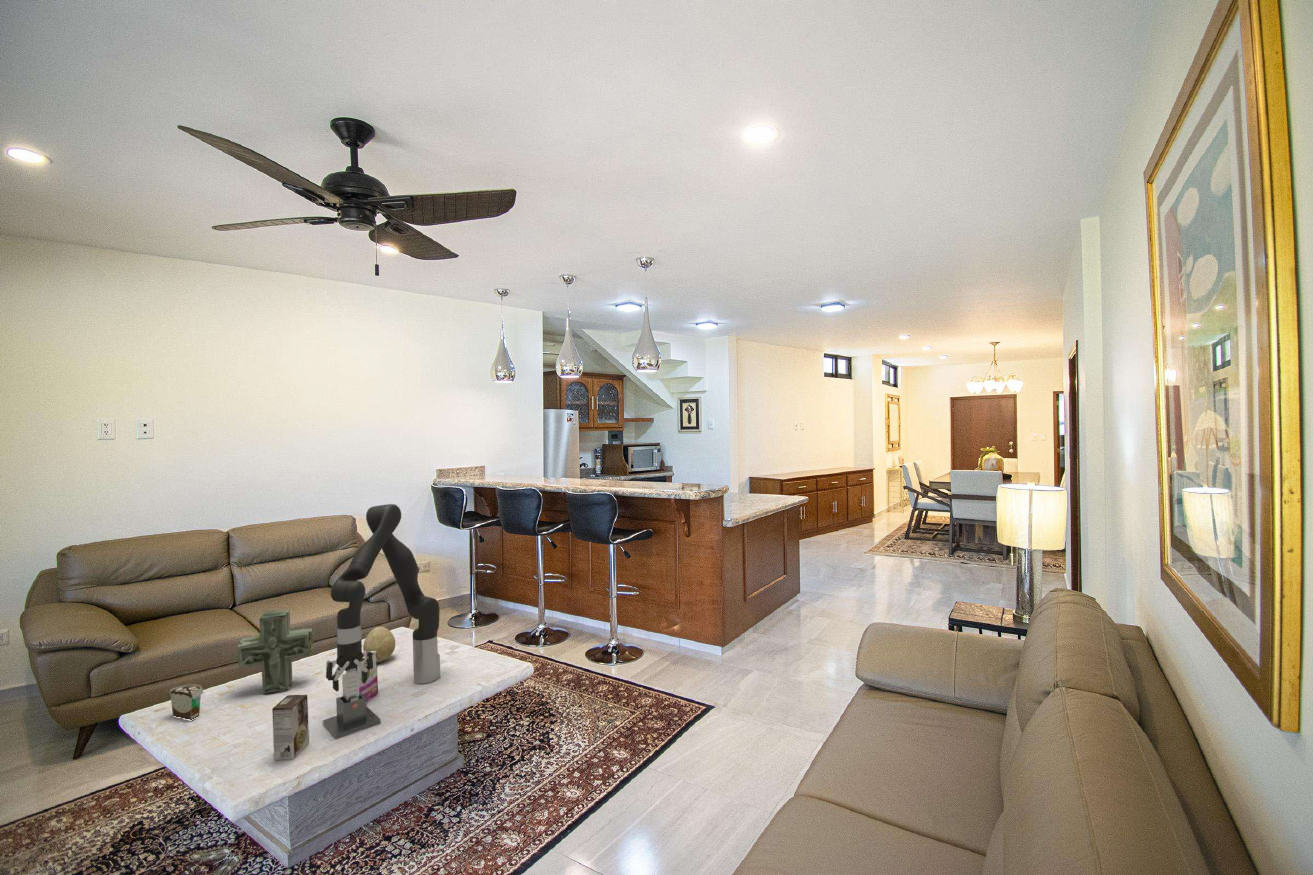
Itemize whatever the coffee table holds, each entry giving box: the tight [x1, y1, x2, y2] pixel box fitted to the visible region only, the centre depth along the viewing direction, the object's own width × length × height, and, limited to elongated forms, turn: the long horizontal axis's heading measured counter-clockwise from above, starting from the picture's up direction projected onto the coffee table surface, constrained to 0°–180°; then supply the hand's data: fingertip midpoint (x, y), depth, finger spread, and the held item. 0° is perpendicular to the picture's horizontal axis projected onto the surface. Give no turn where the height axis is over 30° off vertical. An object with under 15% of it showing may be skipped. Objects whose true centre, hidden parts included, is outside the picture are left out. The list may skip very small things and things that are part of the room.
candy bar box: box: [345, 651, 379, 702], centre depth 218 cm, size 11×5×16 cm, turn 168°
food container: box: [168, 683, 204, 721], centre depth 209 cm, size 12×6×10 cm, turn 71°
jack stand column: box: [341, 671, 359, 703], centre depth 200 cm, size 4×4×16 cm
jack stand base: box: [322, 692, 382, 740], centre depth 200 cm, size 14×14×10 cm
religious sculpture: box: [237, 608, 314, 695], centre depth 229 cm, size 24×12×30 cm, turn 114°
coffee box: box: [271, 694, 310, 761], centre depth 183 cm, size 9×6×16 cm
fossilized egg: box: [362, 626, 396, 663], centre depth 255 cm, size 13×13×15 cm
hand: (350, 686), depth 200 cm, fingers open, 8 cm apart
